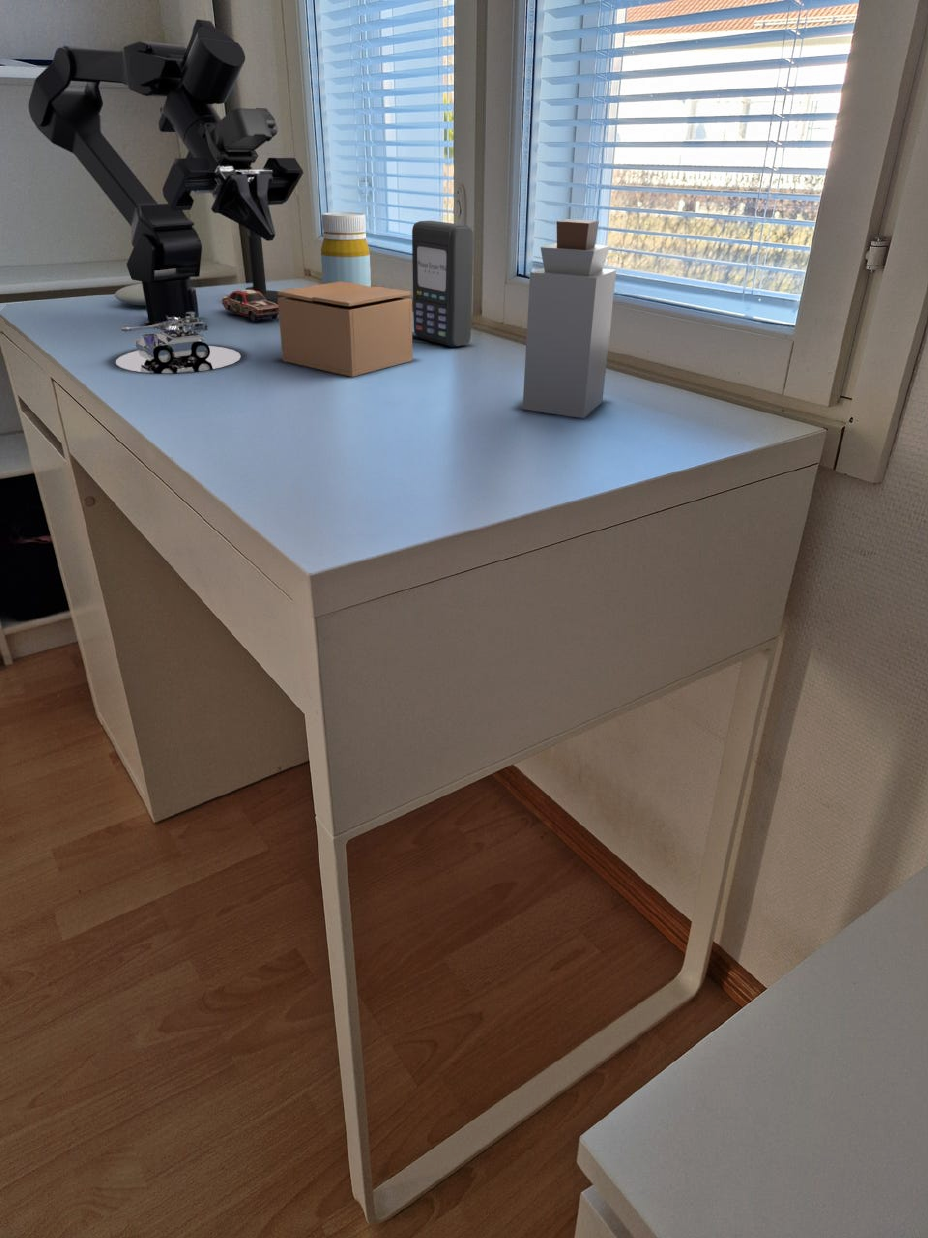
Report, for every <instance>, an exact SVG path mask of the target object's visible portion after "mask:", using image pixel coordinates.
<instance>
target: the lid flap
mask: <svg viewBox="0 0 928 1238" xmlns="http://www.w3.org/2000/svg"><path fill="white" fill-rule="evenodd" d="M363 288H369V286H364V285H359V284H353V283H348V282H342V281H340V282H333V283H327V284H323V283H321V284H315V285H310V286H309V285H308V286H303V287H302V286H301V287H294V288H289V289H281V290H277V291H278V295H283V296H288V297H293V298H297V299H302V300H307V301H313V297H315V296H321V295H327V294H333V293H339V292H345V291H351V290H357V289H363Z"/></svg>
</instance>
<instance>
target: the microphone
mask: <svg viewBox="0 0 928 1238" xmlns="http://www.w3.org/2000/svg"><path fill="white" fill-rule="evenodd" d="M247 240H248V248H249V249H248V250H249V260H250V270H251V280H252V286H248V287H246V288H245V289H244V290H254V291H259V292H260V293H261V294H262V295H263V296H264V298H266V300H267V301H269V302H272V303H275V304H277V305H278V298H281V297H287V296H283V295H278V291H279V290H269V289H267V282H266V274H265V273H266V272H265V263H264V252H263V251H264V250H263V243H262V237H260V236H258V235H257V234H255V233H254V232H252V231H250V230H249V235H248V236H247Z"/></svg>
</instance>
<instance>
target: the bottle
mask: <svg viewBox="0 0 928 1238" xmlns="http://www.w3.org/2000/svg"><path fill="white" fill-rule="evenodd" d="M366 222H367V220H366V213H363V212H353V211H351V212H350V211H347V212H346V211H333V212H332V211H331V212H322V213H321V230H322V238H323V239H322V242H321V246H320V263H321V278H322V284H327V283H333V282H340V281H342V282H348V283H353V284H359V285H364V286H369V287H372V281H371V280H372V276H371V252H370V251H371V250H370V248H369V247H370V246H369V243H368V242H367V233H366V230H367V223H366Z"/></svg>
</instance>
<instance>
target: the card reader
mask: <svg viewBox="0 0 928 1238" xmlns="http://www.w3.org/2000/svg"><path fill="white" fill-rule="evenodd" d="M473 231H474V230H473V229H472V228H471V227H470V226H469V225H468V224H460V223H452V222H445V221H436V220H419V221H417V222H415V223H413V225H412V228H411V247H412V248H411V254H412V255H411V257H412V258H411V261H412V268H411V269H412V318H413V332H414V334H415V335H416V337H417V338H419V339H422V340H425V341H428V342H433V343H435V344H440V345H444V346H446V347H449V348H450V347H451V348H455V347H460V346H466V345H468V344H469V343H470V342H471V335H472V317H473V316H472V312H473V309H472V308H473V282H474V281H473V279H474V277H473V276H474V237H475V236H474V232H473Z"/></svg>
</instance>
